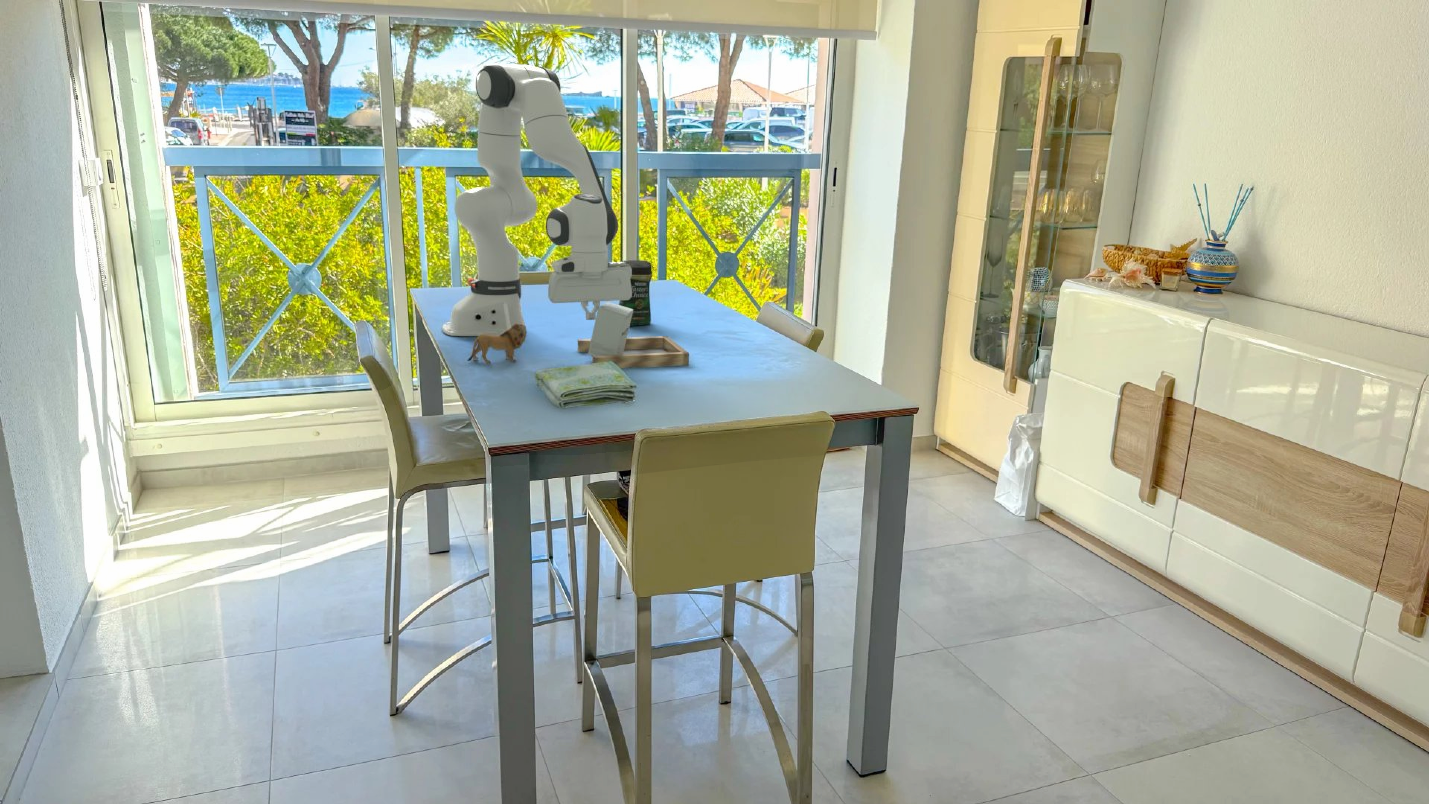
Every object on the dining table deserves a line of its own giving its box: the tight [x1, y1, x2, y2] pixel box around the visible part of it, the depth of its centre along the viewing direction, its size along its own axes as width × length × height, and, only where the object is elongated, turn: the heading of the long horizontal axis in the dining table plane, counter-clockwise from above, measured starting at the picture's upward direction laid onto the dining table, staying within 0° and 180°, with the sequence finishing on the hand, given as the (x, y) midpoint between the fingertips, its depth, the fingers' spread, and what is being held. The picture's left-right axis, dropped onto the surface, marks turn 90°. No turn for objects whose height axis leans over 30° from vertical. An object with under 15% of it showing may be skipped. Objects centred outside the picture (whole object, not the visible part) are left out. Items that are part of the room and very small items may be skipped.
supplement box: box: [587, 301, 633, 357], centre depth 244 cm, size 7×7×13 cm
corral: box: [577, 335, 690, 369], centre depth 248 cm, size 24×19×3 cm
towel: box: [534, 361, 638, 409], centre depth 217 cm, size 18×21×5 cm
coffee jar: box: [618, 259, 653, 327], centre depth 284 cm, size 10×8×19 cm
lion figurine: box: [467, 323, 527, 364], centre depth 239 cm, size 15×5×9 cm, turn 117°
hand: (591, 319), depth 241 cm, fingers closed
